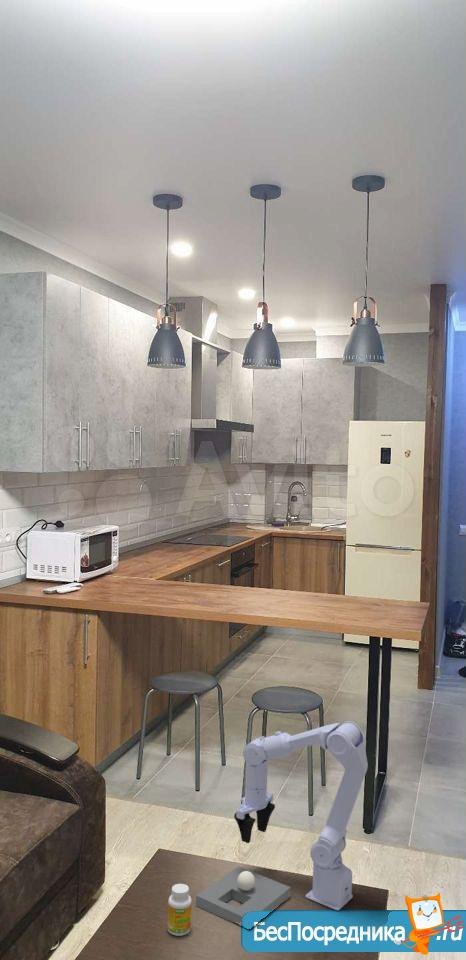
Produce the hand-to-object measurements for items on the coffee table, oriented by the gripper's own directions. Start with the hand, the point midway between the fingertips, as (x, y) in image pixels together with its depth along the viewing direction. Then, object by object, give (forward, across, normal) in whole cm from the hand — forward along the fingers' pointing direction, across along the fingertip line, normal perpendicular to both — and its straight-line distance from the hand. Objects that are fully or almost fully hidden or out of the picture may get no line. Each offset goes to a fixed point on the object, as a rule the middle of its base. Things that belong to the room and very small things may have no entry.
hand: (253, 836), depth 205 cm
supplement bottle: (+10, +31, 0) cm, 33 cm away
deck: (+10, +12, +6) cm, 17 cm away
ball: (+5, +11, +6) cm, 14 cm away
